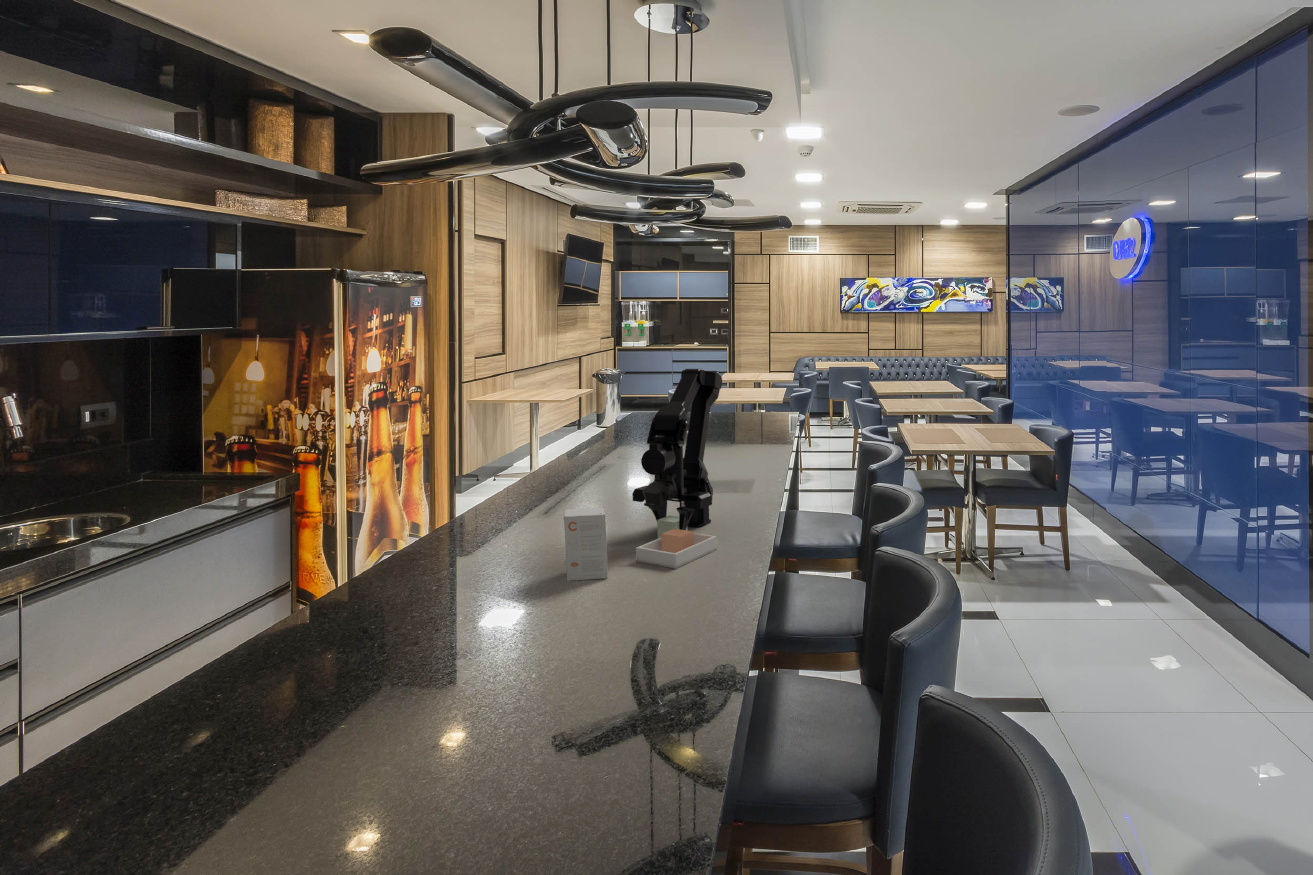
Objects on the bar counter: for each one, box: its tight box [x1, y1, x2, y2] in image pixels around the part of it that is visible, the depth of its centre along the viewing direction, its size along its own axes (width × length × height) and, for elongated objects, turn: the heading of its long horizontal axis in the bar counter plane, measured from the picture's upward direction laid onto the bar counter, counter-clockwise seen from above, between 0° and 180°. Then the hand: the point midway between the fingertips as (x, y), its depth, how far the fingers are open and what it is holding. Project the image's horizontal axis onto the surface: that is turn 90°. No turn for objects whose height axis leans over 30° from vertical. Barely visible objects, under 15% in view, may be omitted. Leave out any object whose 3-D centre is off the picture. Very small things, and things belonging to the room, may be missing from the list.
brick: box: [661, 529, 695, 553], centre depth 175 cm, size 5×5×4 cm
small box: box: [563, 507, 609, 582], centre depth 162 cm, size 8×6×13 cm
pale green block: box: [656, 515, 688, 539], centre depth 189 cm, size 5×5×4 cm
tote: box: [635, 532, 718, 570], centre depth 175 cm, size 10×16×3 cm, turn 145°
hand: (672, 533), depth 189 cm, fingers closed on pale green block, 5 cm apart
